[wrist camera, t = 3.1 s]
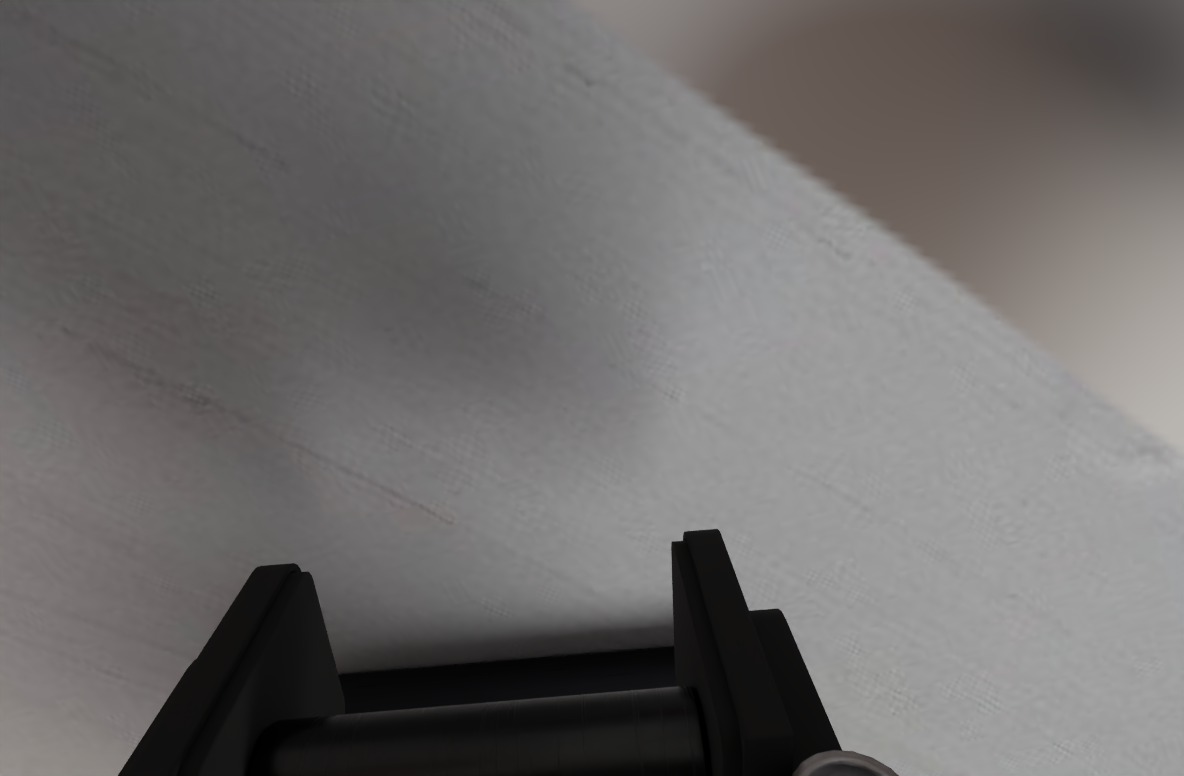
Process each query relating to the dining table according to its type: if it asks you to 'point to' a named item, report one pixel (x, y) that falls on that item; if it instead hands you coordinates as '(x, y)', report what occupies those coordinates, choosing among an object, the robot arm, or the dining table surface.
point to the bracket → (508, 680)
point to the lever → (500, 739)
